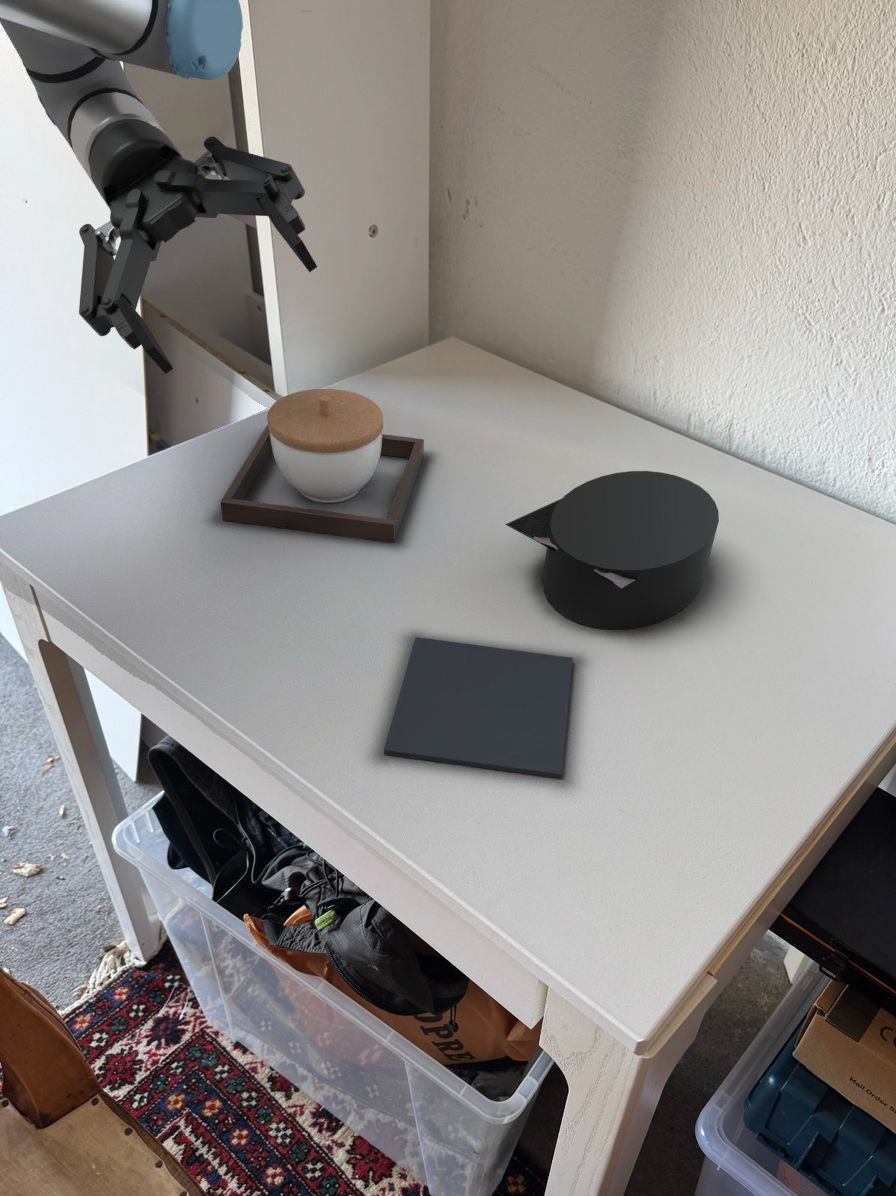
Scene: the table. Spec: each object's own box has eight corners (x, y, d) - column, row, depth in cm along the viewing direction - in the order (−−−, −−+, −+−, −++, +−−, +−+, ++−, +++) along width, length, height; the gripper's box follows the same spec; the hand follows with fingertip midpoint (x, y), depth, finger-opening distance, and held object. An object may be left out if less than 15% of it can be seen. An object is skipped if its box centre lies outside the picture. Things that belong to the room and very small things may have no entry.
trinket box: (405, 484, 101) (407, 397, 94) (331, 529, 94) (327, 439, 88) (326, 447, 105) (322, 361, 99) (249, 487, 98) (240, 398, 92)
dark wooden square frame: (222, 520, 94) (220, 501, 92) (271, 436, 106) (270, 419, 104) (393, 542, 93) (393, 524, 92) (423, 456, 105) (424, 439, 104)
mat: (383, 754, 73) (383, 749, 73) (415, 641, 83) (415, 636, 83) (561, 778, 73) (562, 774, 73) (572, 662, 83) (573, 657, 82)
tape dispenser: (736, 579, 95) (756, 509, 90) (622, 653, 84) (638, 577, 79) (614, 518, 102) (627, 450, 97) (494, 579, 91) (502, 505, 86)
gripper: (272, 115, 89) (384, 249, 80) (42, 278, 89) (128, 431, 80) (230, 37, 82) (347, 174, 73) (-19, 214, 82) (67, 372, 73)
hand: (233, 309), depth 77 cm, fingers open, 13 cm apart
